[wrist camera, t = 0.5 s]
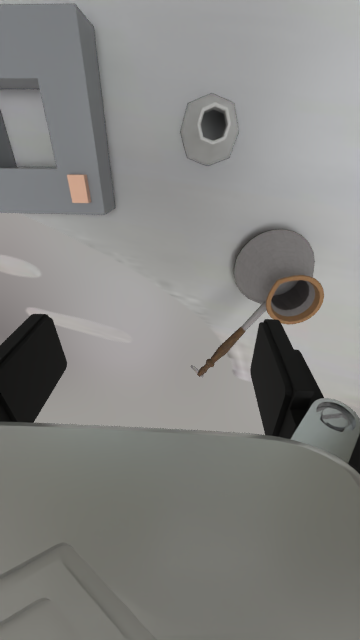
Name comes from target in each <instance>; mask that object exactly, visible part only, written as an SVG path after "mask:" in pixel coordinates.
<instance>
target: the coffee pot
mask: <svg viewBox="0 0 360 640" xmlns="http://www.w3.org/2000/svg"><path fill="white" fill-rule="evenodd" d="M314 263H315V261H314V253H313V250H312V248H311V246H310V244H309V242H308V241H307V240H306V239H305V238H304V237H303V236H302V235H300V234H298V233H296V232H294V231H289V230H284V229H278V230H270V231H267V232H264V233H262V234H259V235H258V236H256V237H255V238H253V239H251V240H250V241H249V242H248V243H247V244H246V245H245V246H244V247H243V248H242V250H241V252H240V253H239V255H238V257H237V259H236V263H235V267H234V278H235V281H236V285H237V287H238V288H239V290H240V291H241V293H242V294H244V295H245V296H246V297H247V298H248V299H251V300H253V301H255V302H258V303H260V304H262V305H261V306H260V307H259V308H258V309H257V310H256V311H255V312H254V314H253V315H252V316H251V317H250V318H249V319H248V320H247V321H246V322H245V323H244V324H243V325H242V327H240V328H239V329H238V330H237V331H236V332H235V333H233V334H232V335H231V336H230V337H229V338H228V339H227V340H226V341H225V342H224V343H223V344H222V345H221V346H220V347H219V348H218V349H217V351H216V352H215V353H214V355H213V356H212V357H211V359H207V361H206V364H205V365H204V366H203V367H201V369H200V370H198V369H197V368H195V367H194V366H191V368H192V369H193V370H194V371H195V372H196V373H197V375H198V376H199V377H200V376H201V377H203V374H204V373H206V371H207V369H208V368H210V367H213V366H214V363H215V362H216V361H217V360H218V359H220V358H221V357H222V356H224V355H225V354H226V353H227V352H228V351H229V350H230V348H231V347H232V346H233V345H234V344H235V343H236V342H237V340H238V339H239V338H240V337H241V336H242V335H243V334H244V332H245V331H246V330H247V329H248V328H249V327H250V326H251V325H252V324H253V323H254V322H255V321H256V320H257V319H258V318H259V317H260V316H261V315H262V314H263V313H264V312H265V311H266V310H267V312H268V314H269V315H270V317H271V318H273V319H275V320H279V321H280V323H283V324H296V323H300V322H303V321H305V320H307V319H309V318H310V317H312V316H313V315H314V314H315V313H316V312H317V311H318V310H319V309H320V307H321V305H322V303H323V299H324V292H323V288H322V286H321V284H320V283H319V282H318V281H317V280H316V279H314V278H313V271H314ZM195 369H196V370H197V371H198V372H197V371H196V370H195Z"/></svg>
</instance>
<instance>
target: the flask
mask: <svg viewBox="0 0 360 640" xmlns="http://www.w3.org/2000/svg"><path fill="white" fill-rule="evenodd" d="M180 133H181V137H182V141H183V144H184V148H185V152H186V155H187V158H189V159H191V160H194V161H196V162H199V163H201V164H204V165H206V166H209V165H212V164H214V163H217V162H220V161H222V160H225V159H228V158H229V157H230V155H231V152H232V149H233V147H234V144H235V141H236V139H237V136H238V133H239V128H238V122H237V116H236V111H235V105H234V103H233V102H231V101H229V100H226V99H224V98H222V97H219V96H217V95H215V94H213V93H210V94H208V95H206V96H204V97H201V98H199V99H197V100H194V101H192V102H190V103H188V105H187V108H186V112H185V116H184V120H183V123H182V127H181V131H180Z"/></svg>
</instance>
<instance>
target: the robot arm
mask: <svg viewBox="0 0 360 640" xmlns="http://www.w3.org/2000/svg"><path fill="white" fill-rule="evenodd" d="M66 367H67V361H66V358H65V355H64V352H63V350H62V346H61V343H60V340H59V337H58V334H57V331H56V328H55V325H54V322H53V320H52V318H50V317H49V316H48V315H46V314H32V315H31V316H30V317H29V318H28V319H27V320H26V321H25V322H24V323H23V324H22V325H21V326H20V327H18V328H17V329H16V331H14V332H13V333H12V334H11V335H10V336H9V337H8V338H7V340H5V341H4V342H3V343H2V344H1V345H0V640H360V418H359V417H358V416H357V414H356V413H355V412H354V411H353V410H352V409H351V408H350V407H349V406H347V405H345V404H344V403H342V402H340V401H337V400H334V399H329V398H324V397H323V395H322V393H321V391H320V389H319V387H318V385H317V383H316V381H315V379H314V377H313V375H312V373H311V371H310V370H309V368H308V366H307V364H306V362H305V360H304V358H303V356H302V354H301V352H300V351H299V350H294V349H293V347H292V345H291V343H290V341H289V339H288V337H287V335H286V333H285V331H284V329H283V327H282V325H281V323H280V321H279V320H275V319H265V320H264V323H263V322H260V324H259V328H258V333H257V338H256V343H255V348H254V354H253V359H252V364H251V378H252V382H253V386H254V390H255V394H256V398H257V402H258V407H259V411H260V415H261V419H262V423H263V427H264V431H265V435H259V434H250V433H235V432H220V431H202V430H183V429H164V428H143V427H121V426H99V425H77V424H52V423H33V422H34V421H35V419H36V417H37V416H38V414H39V412H40V411H41V409H42V407H43V406H44V404H45V402H46V401H47V399H48V398H49V396H50V394H51V393H52V391H53V389H54V387H55V386H56V384H57V383H58V381H59V379H60V378H61V376H62V374H63V373H64V371H65V369H66Z"/></svg>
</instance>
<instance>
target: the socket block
mask: <svg viewBox="0 0 360 640" xmlns="http://www.w3.org/2000/svg"><path fill="white" fill-rule="evenodd" d="M0 89H40V93H41V98H42V102H43V107H44V111H45V116H46V121H47V125H48V130H49V134H50V139H51V144H52V148H53V153H54V157H55V162H56V167H17V166H16V163H15V159H14V156H13V153H12V149H11V146H10V142H9V139H8V135H7V132H6V128H5V125H4V122H3V118H2V115H1V111H0V212H1V213H45V214H92V215H105V214H107V213H108V212H110V211H111V210H113V209H114V208H115V202H114V194H113V185H112V177H111V169H110V160H109V152H108V143H107V135H106V127H105V118H104V110H103V101H102V93H101V85H100V76H99V68H98V59H97V51H96V43H95V34H94V27H93V25H92V24H91V23H90V22H89V20H88V19H87V18H86V17H85V15H84V14H83V13H82V12H81V10H80V9H79V8H78V7H77V5H76V4H2V5H0Z"/></svg>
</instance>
